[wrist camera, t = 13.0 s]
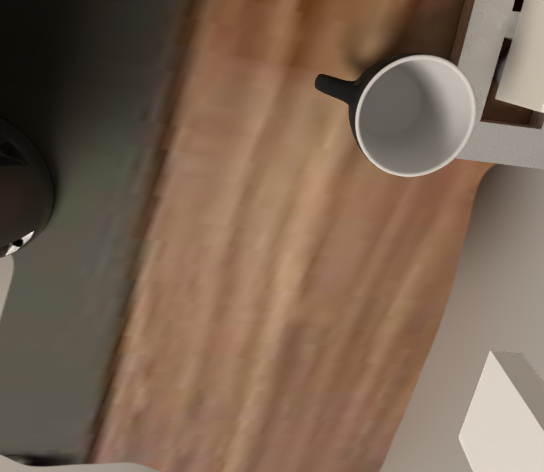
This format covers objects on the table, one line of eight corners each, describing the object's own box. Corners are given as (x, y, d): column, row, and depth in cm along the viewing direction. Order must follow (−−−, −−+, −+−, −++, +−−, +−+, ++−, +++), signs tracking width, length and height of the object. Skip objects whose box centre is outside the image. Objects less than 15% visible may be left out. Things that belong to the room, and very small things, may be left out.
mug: (452, 69, 43) (500, 78, 34) (411, 161, 46) (444, 192, 37) (328, 24, 42) (342, 20, 32) (295, 122, 45) (299, 144, 36)
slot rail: (427, 149, 46) (434, 155, 44) (500, -141, 37) (514, -153, 35) (548, 164, 46) (561, 171, 44) (649, -120, 37) (673, -130, 35)
